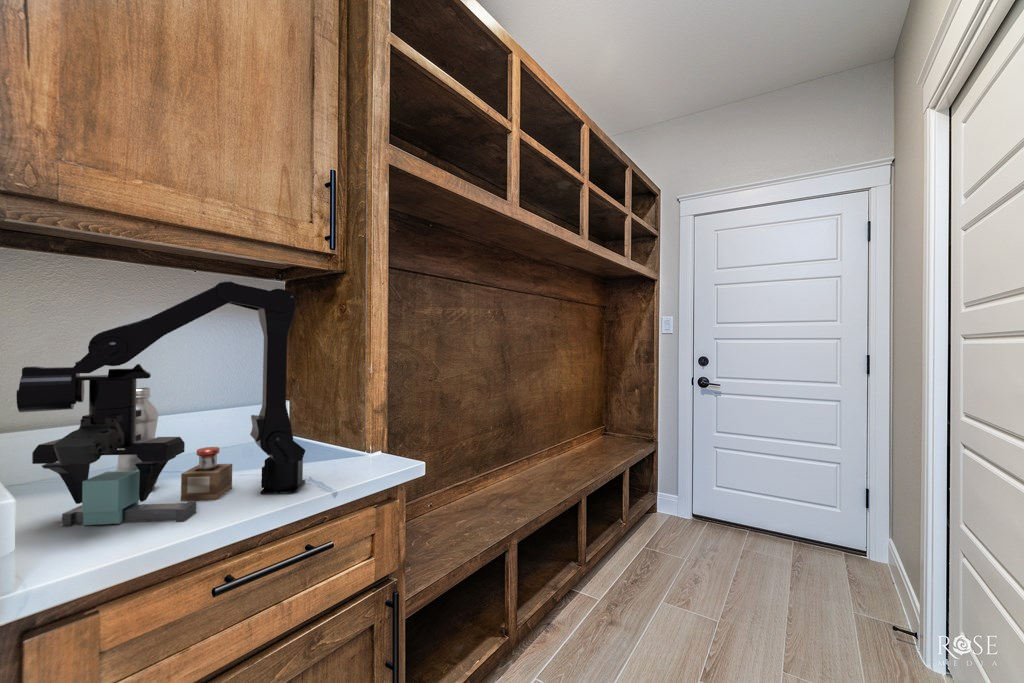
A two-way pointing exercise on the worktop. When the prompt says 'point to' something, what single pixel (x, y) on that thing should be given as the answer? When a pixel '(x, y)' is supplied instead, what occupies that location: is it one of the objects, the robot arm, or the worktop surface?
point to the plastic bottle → (141, 428)
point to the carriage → (109, 496)
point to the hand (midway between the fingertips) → (111, 501)
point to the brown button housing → (206, 483)
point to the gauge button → (208, 458)
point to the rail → (141, 513)
